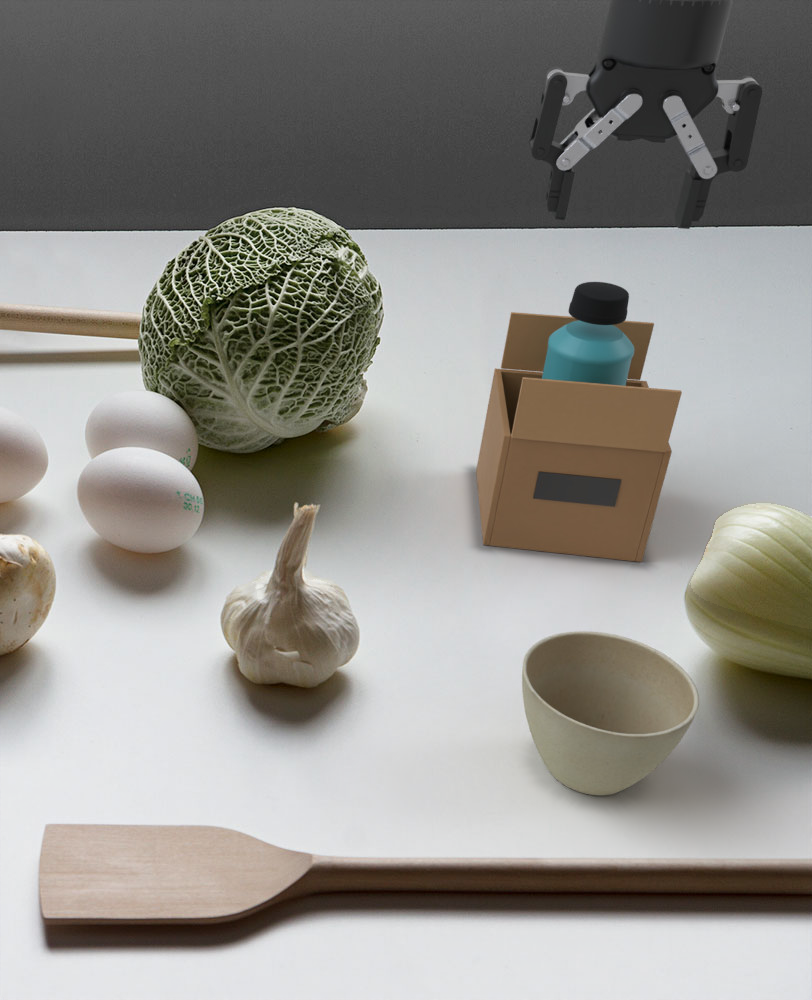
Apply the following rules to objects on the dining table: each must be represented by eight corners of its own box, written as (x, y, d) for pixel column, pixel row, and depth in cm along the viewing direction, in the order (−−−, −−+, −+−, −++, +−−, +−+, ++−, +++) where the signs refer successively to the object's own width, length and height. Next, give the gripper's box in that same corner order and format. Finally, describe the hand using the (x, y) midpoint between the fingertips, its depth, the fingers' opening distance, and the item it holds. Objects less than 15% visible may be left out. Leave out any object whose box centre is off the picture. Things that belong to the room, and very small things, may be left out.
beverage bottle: (595, 541, 104) (652, 310, 93) (509, 526, 106) (555, 298, 95) (597, 501, 109) (651, 278, 99) (515, 488, 111) (559, 267, 101)
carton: (619, 483, 112) (660, 323, 104) (642, 564, 101) (689, 392, 93) (475, 469, 114) (504, 311, 106) (483, 547, 103) (515, 378, 96)
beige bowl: (657, 727, 85) (683, 640, 81) (683, 837, 77) (714, 747, 73) (499, 705, 87) (517, 620, 83) (508, 811, 79) (529, 721, 75)
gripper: (567, -8, 84) (521, 232, 92) (804, 0, 81) (735, 246, 90) (555, -28, 90) (513, 198, 99) (775, -21, 87) (713, 211, 96)
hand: (619, 221), depth 94 cm, fingers open, 8 cm apart
